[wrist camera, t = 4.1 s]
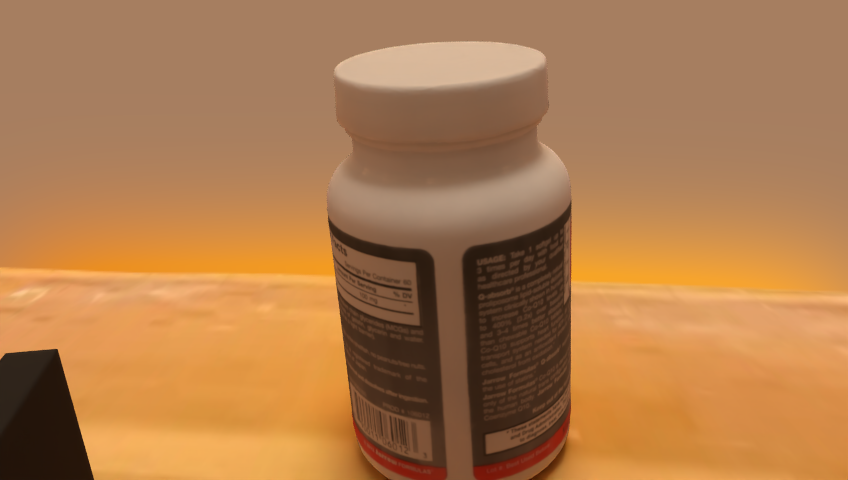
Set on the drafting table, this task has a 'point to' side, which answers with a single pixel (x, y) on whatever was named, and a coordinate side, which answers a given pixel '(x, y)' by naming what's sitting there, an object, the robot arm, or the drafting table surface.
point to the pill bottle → (452, 261)
